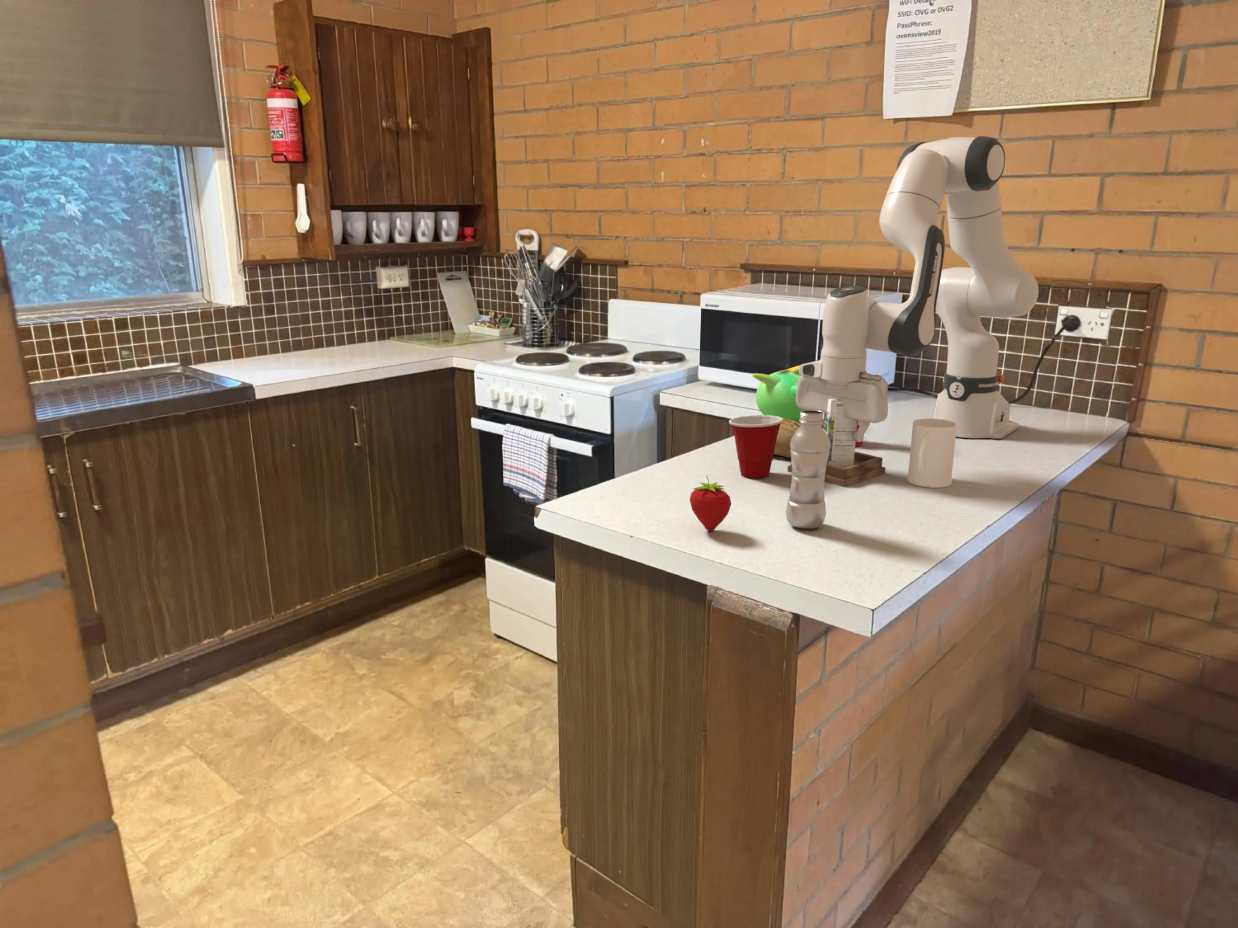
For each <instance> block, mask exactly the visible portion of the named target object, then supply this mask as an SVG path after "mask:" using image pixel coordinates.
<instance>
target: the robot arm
mask: <svg viewBox="0 0 1238 928" xmlns="http://www.w3.org/2000/svg"><path fill="white" fill-rule="evenodd" d="M897 161H898V162H897V167H896V171H895V174H894V176H893V178H892V180H891V182H890V184H889V187H888V189H887V192H886V195H885V198H884V201H883V204H882V206H881V209H880V212H879V220H878V221H879V222H878V223H879V227H880V230H881V233H882V235H883V236H884V238H885V239H886V240H887V241H888V242H889V243H891V245H893V246H895V247H897V248H898V249H900V250H901V251H903V252H906V253H907V254H910V255H911V256H913V258H914V270H913V274H912V275H913V276H912V281H911V287H910V292H909V293H910V294H909V297H908V299H907V300H906V301H904V302H901V303H899V302H898V303H896V302H884V301H878V300H876V299H875V298H872V297H870V296H869V292H868V289H867V288H866V287H864V286H861V285H860V286H859V285H846V286H840V287H836V288H834V289H832V290H831V291H829V292H828V294H827V296H826V300H825V304H824V309H823V315H822V328H821V334H822V337H823V338H822V339H823V344H822V347H821V348H822V349H821V351H820V359H816V360H815V361H810V362H806V363H802V364H800V365H799V366H800V367H799V373H800V375H802V376H801V377H800V378H799V379H798V382H797V389H796V404H797V406H798V407H799V408H801V409H806V410H818V411H822V412H823V414H824V413H827V406H828V399H837V400H843V417H846V418H850V419H855V420H858V425H859V426H860V427H859V429H858V431H857V432H853V438H852V440H853V441H857V442H861V441H863V442H864V438H865V433H866V432H867V430H868V428H869V427H870V425H871V424H878V423H882V422H884V421H885V420H886V419H887V418H888V414H889V412H888V411H889V406H888V405H889V404H888V403H889V402H888V400H889V399H888V389H889V388H888V387H889V385H888V381H886V379H884V378H883V375H879V374H871V373H868V372H867V373H865V370H866V369H867V368H866V367H867V349H869V350H872V351H873V350H875V351H882V352H889V353H894V354H897V355H901V356H906V357H910V358H911V357H915V356H917V355H919V354H921V352H923V351H925V350H926V349H927V348H929V346H930V345H931V343H932V342H933V340H934V338H935V334H936V333H935V332H936V321H937V320H936V314H937V315H938V317H939V318H940V320H941V321H942V323H943V327H944V329H945V333H946V336H947V337H946V338H947V363H946V372H944V375H943V380H942V382H943V383H942V388H943V390H942V391H941V392H939V393H938V395H937V399H936V404H935V409H934V415H933V419H943V420H948V421H952V422H954V423H956V424H957V430H956V437H957V438H958V437H959V438H965V439H967V438H968V439H997V440H998V439H1004V438H1006V437H1007V436H1008V435H1010V434H1011V433H1013V432H1014V431H1016V430H1018V428H1019V427H1020V425H1019V423H1018V422H1016V421H1012V420H1010V416H1011V415H1010V413H1011V406H1010V405H1011V404H1010V403H1009V402H1008V401H1007V400H1006V399H1005V397H1004V396H1003V395H1002V394H1001V392H1000V391H999V384H1003V383H1004V380H1005V375H1004V374H998V373H997V369H998V363H999V362H998V360H999V353H1000V344H999V342H998V339H997V338H996V337H995V336H994V335H993V334H991V333H990V332H988V331H987V329H985V328H984V325H983V324H982V320H981V317H987V318H988V317H989V318H1000V319H1005V318H1006V319H1007V318H1014V317H1015V318H1017V317H1021V316H1025V315H1027V314H1029V312H1031V310H1032V309H1034V307H1035V305H1036V303H1037V301H1038V297H1039V292H1040V289H1039V285H1038V281H1037V279H1036V278H1035V277H1034V275H1033V274H1032V273H1030V272H1029V271H1027V270H1026V269H1025V268H1023V266H1021V265H1020V264H1019V263H1018V261H1017V260H1016V259H1015V258H1014V256H1013V254H1012V252H1011V251H1010V249H1009V248H1008V244H1007V242H1006V239H1005V233H1004V226H1003V214H1002V213H1003V212H1002V200H1001V197H1002V196H1001V192H1000V186H999V180H1000V179H1001V178H1002V175H1003V174H1004V170H1005V166H1006V153H1005V149H1004V146H1003V145H1002V143H1001V142H1000V141H999V140H998V139H997V138H995V137H992V136H984V135H979V136H977V137H974V136H957V137H948V138H943V139H937V140H933V141H929V142H925V141H921V142H918V143H915V144H912V145H910V146H908V147H907V148H905V150H904V151H903V152H902V154H901V155H900V157H899V159H898V160H897ZM945 195H946V211H947V213H946V215H947V225H948V236H949V245H950V248H951V250H952V251H953V253H954V254H956V255H957V256H958V257H960V258H962V259H963V260H964V261H965V262H967V263H968V265H969V266H970V267H967V266H966V267H965V266H956V267H954V266H953V267H948V268H944V269H943V265H944V259H945V258H944V257H945V248H946V241H945V235H944V232H943V230H942V229H941V228H940V227H938V217H939V214H940V210H941V207H942V204H943V200H944V196H945ZM866 371H867V370H866ZM823 424H824V423H823ZM823 424H822V428H823Z"/></svg>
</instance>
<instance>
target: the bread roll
mask: <svg viewBox="0 0 1238 928" xmlns="http://www.w3.org/2000/svg"><path fill="white" fill-rule="evenodd" d="M800 426H801V424H799V423H798V422H796V421H793V420H789V419H783V420H782V423H781V424H780V428H779V431H778V435H777V440H776V445H775V450H774V455H776V456H781V457H785V458H789V459H791V448H790V442H791V439H792V437H793V435H794V434H795V432H796V431H797V430H798V429H799V427H800Z"/></svg>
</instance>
